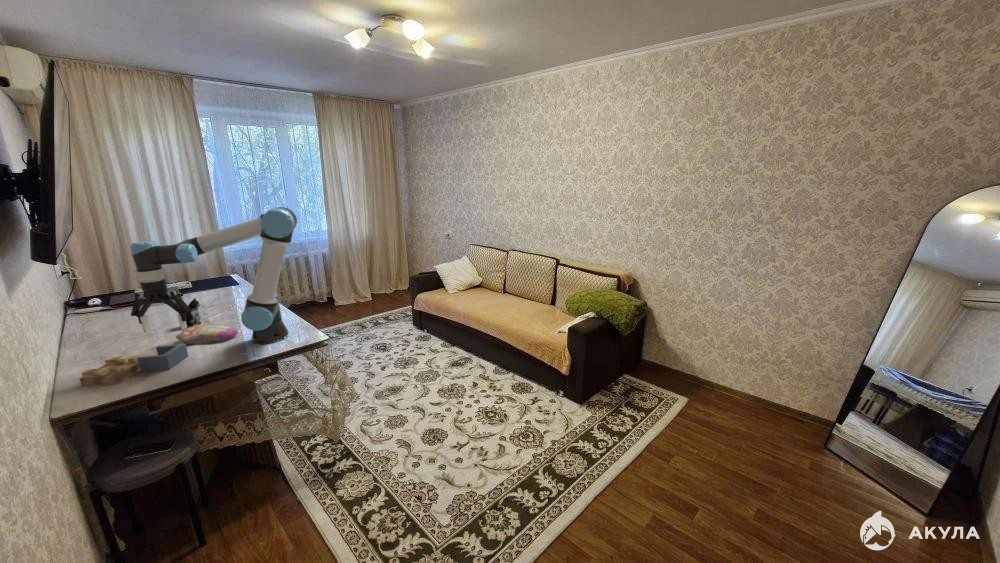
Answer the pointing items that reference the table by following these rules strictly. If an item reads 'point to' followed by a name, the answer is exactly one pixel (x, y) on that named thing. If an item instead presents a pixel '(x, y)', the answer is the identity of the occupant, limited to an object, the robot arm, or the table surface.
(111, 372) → the stand
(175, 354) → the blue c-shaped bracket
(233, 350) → the table surface
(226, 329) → the sculpture
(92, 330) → the table surface
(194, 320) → the figurine
